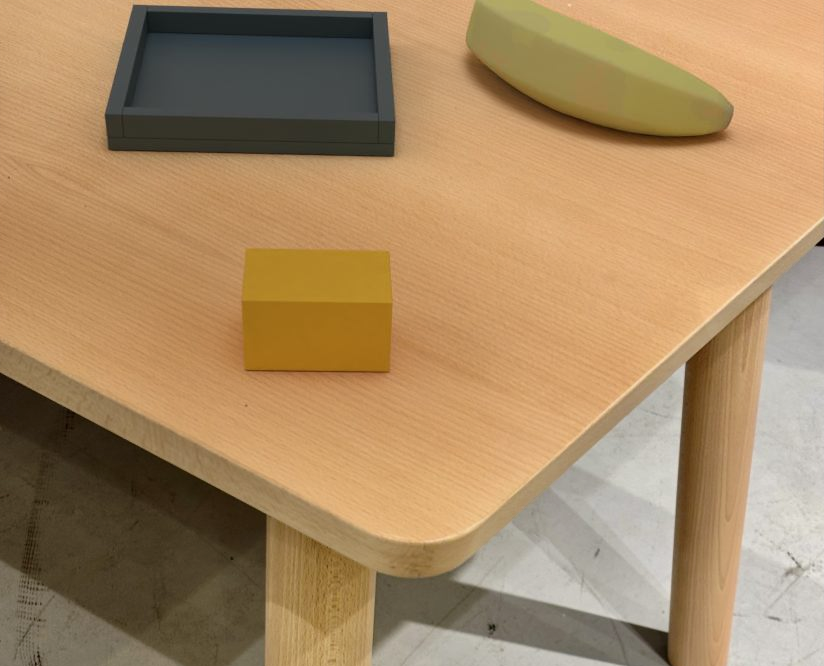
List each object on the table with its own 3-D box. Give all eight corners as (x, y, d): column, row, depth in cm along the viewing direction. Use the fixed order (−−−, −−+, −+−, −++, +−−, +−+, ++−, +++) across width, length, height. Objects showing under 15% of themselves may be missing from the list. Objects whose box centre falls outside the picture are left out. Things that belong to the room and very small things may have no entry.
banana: (561, 38, 79) (448, -46, 95) (532, 131, 82) (426, 34, 97) (756, 79, 85) (618, -7, 100) (723, 165, 87) (594, 69, 103)
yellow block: (244, 370, 66) (241, 300, 64) (248, 316, 70) (245, 247, 67) (389, 372, 67) (392, 302, 64) (386, 318, 70) (389, 250, 68)
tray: (108, 150, 82) (104, 113, 80) (136, 37, 94) (133, 4, 92) (394, 156, 83) (395, 120, 82) (385, 44, 95) (387, 11, 93)
